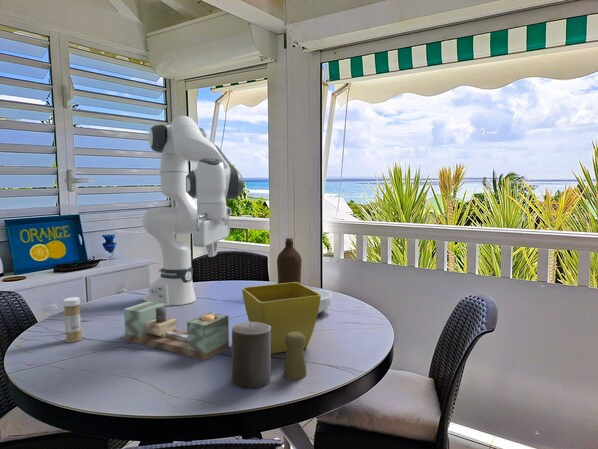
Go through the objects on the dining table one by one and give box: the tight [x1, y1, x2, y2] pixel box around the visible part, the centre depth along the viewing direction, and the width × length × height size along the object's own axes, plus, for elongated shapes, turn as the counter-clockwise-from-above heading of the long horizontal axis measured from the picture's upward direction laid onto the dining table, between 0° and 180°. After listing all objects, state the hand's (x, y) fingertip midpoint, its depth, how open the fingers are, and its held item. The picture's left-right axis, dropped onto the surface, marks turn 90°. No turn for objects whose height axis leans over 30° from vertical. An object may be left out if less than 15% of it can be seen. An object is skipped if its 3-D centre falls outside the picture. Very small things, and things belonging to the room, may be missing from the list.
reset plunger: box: [201, 313, 214, 322], centre depth 128 cm, size 4×4×4 cm
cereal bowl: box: [312, 289, 333, 315], centre depth 166 cm, size 17×17×7 cm
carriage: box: [146, 306, 178, 337], centre depth 137 cm, size 6×7×8 cm
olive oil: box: [276, 237, 303, 284], centre depth 190 cm, size 11×11×25 cm
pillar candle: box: [231, 321, 272, 390], centre depth 110 cm, size 10×10×15 cm
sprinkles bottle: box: [62, 296, 83, 343], centre depth 137 cm, size 5×5×14 cm
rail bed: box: [123, 301, 230, 361], centre depth 134 cm, size 33×10×10 cm, turn 61°
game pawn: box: [283, 332, 307, 381], centre depth 113 cm, size 6×6×11 cm
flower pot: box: [241, 282, 321, 354], centre depth 134 cm, size 19×19×17 cm
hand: (212, 256), depth 136 cm, fingers closed
